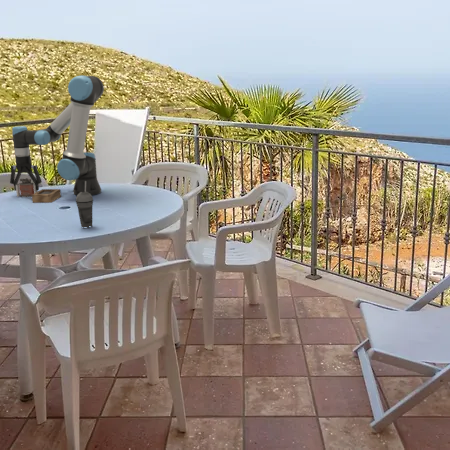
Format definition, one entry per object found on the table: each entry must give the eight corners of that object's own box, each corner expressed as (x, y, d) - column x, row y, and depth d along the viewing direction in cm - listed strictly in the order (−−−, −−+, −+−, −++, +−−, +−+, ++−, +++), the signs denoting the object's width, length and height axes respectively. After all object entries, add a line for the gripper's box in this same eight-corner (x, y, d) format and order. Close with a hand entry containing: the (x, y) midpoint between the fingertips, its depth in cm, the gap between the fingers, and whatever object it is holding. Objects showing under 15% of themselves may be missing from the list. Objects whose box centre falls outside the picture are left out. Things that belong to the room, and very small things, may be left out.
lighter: (36, 195, 282) (34, 178, 279) (33, 197, 278) (31, 179, 276) (22, 195, 282) (20, 178, 280) (19, 197, 279) (17, 179, 276)
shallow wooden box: (61, 196, 278) (60, 189, 277) (51, 202, 265) (50, 194, 264) (43, 196, 279) (42, 189, 278) (32, 202, 265) (31, 194, 264)
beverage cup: (79, 224, 223) (75, 179, 217) (96, 224, 223) (92, 179, 218) (76, 229, 216) (72, 183, 210) (94, 228, 216) (90, 182, 211)
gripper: (45, 154, 277) (49, 194, 283) (5, 154, 278) (11, 194, 284) (39, 156, 270) (44, 197, 276) (-1, 156, 271) (4, 197, 277)
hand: (27, 196), depth 280 cm, fingers open, 9 cm apart
